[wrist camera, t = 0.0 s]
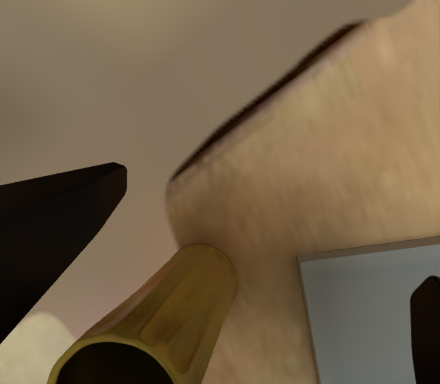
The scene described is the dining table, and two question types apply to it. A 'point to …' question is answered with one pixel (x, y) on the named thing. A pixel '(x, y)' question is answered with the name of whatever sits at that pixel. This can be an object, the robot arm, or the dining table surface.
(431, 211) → the dining table surface
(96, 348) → the vase
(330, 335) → the tray
